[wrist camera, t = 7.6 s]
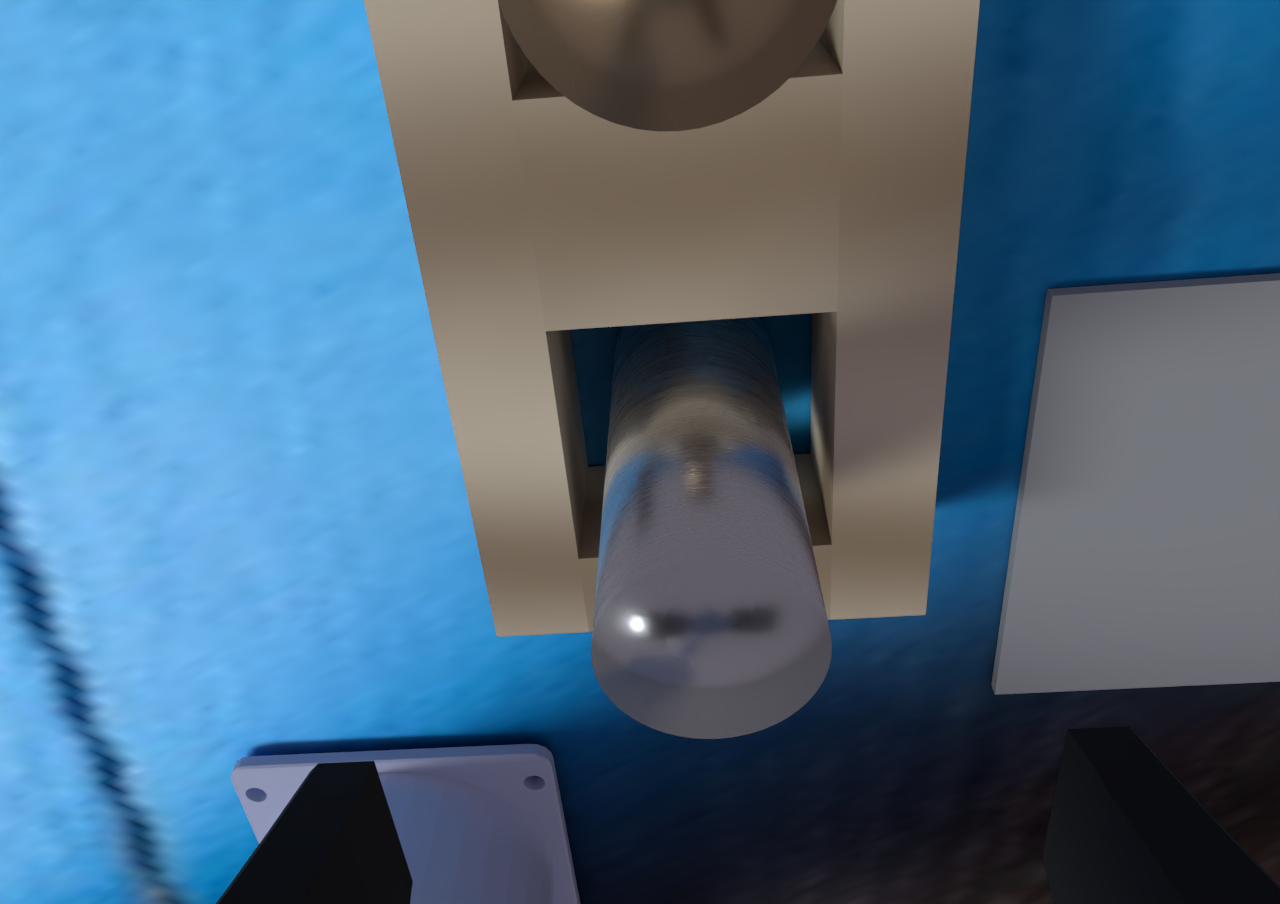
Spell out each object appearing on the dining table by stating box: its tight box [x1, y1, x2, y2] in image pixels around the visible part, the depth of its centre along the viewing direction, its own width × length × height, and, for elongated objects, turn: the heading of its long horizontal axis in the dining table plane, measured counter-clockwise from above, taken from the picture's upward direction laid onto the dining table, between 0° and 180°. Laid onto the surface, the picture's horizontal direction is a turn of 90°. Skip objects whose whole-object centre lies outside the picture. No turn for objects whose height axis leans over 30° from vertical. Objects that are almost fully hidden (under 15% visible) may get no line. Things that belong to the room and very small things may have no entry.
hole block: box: [364, 0, 980, 637], centre depth 16 cm, size 16×8×3 cm, turn 5°
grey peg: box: [591, 317, 832, 739], centre depth 16 cm, size 3×3×8 cm
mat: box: [991, 273, 1280, 695], centre depth 21 cm, size 10×7×1 cm
